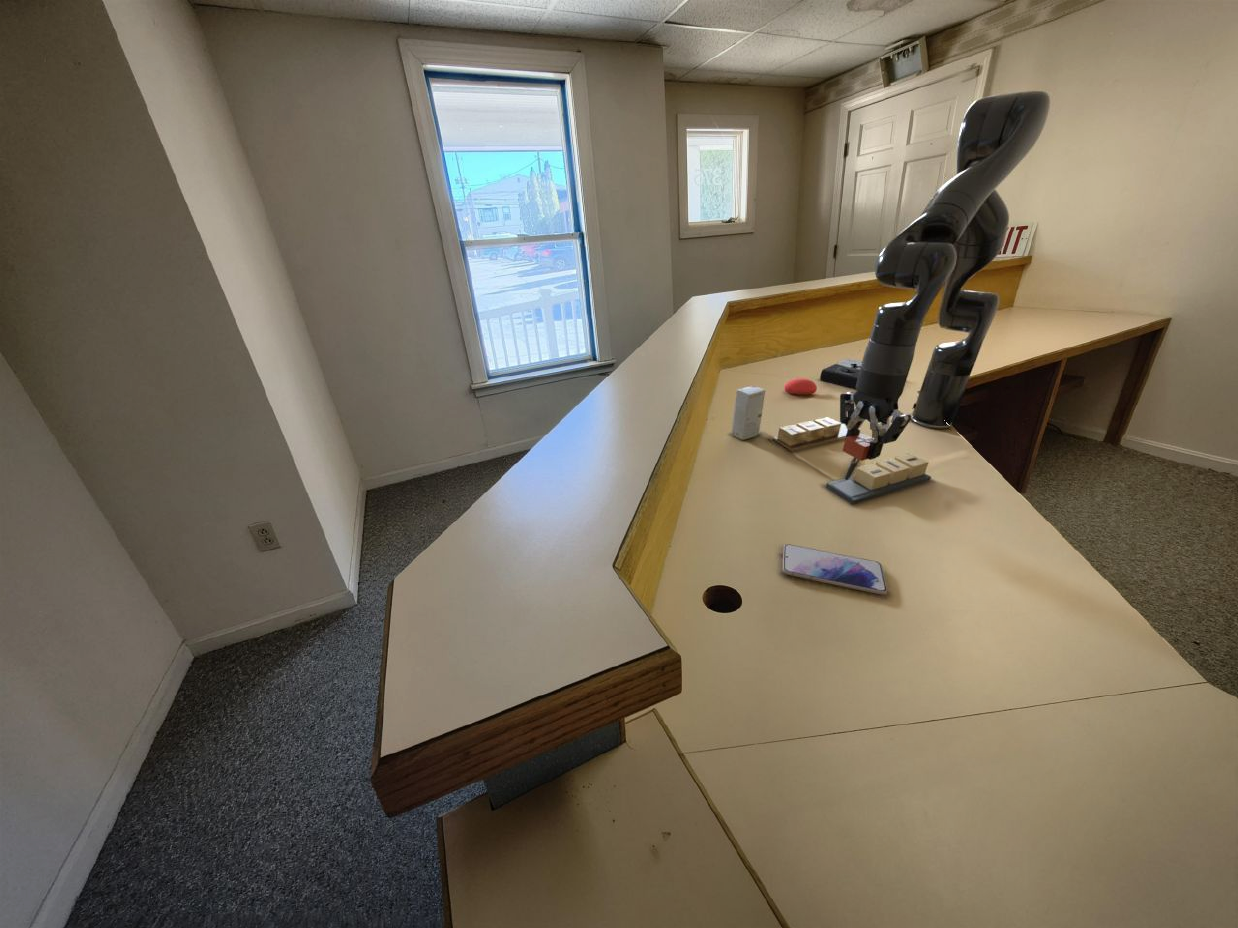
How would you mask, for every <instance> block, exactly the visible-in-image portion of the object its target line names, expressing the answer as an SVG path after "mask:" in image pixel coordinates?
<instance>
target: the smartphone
mask: <svg viewBox="0 0 1238 928" xmlns="http://www.w3.org/2000/svg"><path fill="white" fill-rule="evenodd" d="M782 549H783V550H782V573H783V574H784V575H788V576H792V577H797V578H801V579H806V580H811V581H816V582H819V583H825V584H829V585H834V586H839V587H843V588H848V589H854V590H858V591H862V592H867V593H872V594H876V595H881V596H882V595H887V593H888V588H887V583H886V578H885V573H884V569H883V565H882V564H881V563H880V561H877V560H872V559H867V558H862V557H857V556H851V555H846V554H842V553H841V554H840V553H835V552H830V551H825V550H820V549H815V548H810V547H809V548H808V547H804V546H800V545H796V544H795V545H794V544H789V543H788V544H784V545H783V548H782Z"/></svg>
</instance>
